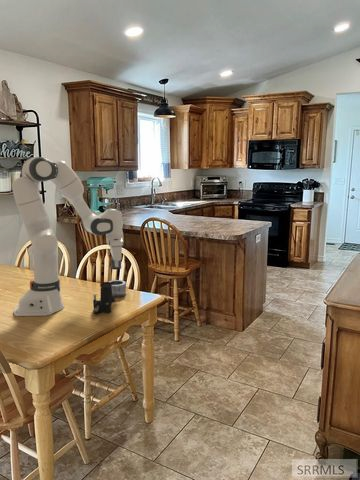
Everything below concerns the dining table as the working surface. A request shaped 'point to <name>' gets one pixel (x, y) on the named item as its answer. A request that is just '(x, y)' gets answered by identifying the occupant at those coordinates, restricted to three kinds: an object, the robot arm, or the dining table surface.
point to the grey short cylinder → (118, 288)
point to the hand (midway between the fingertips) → (115, 265)
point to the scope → (104, 299)
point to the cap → (114, 264)
